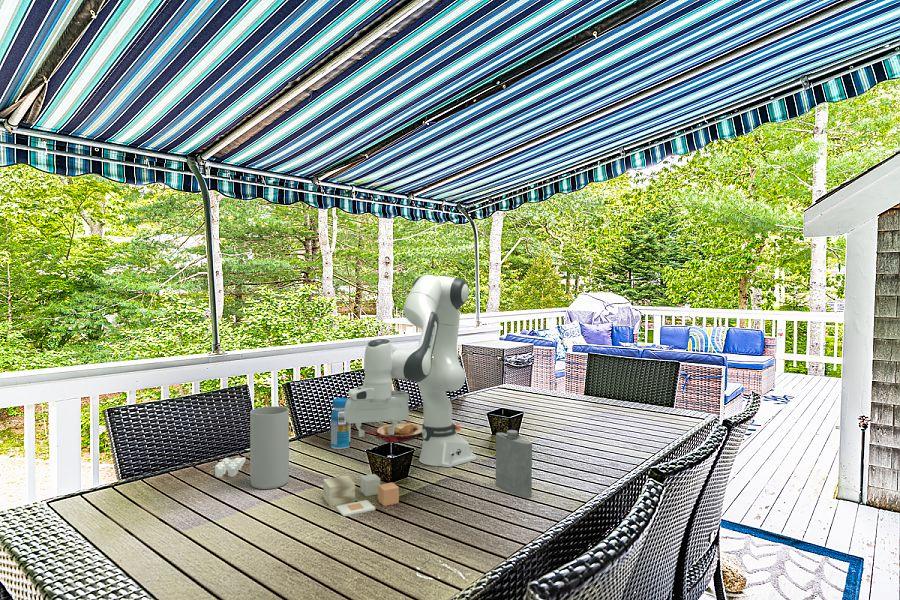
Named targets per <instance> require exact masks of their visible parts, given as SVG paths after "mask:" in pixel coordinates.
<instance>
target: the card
mask: <svg viewBox="0 0 900 600" xmlns="http://www.w3.org/2000/svg"><path fill="white" fill-rule="evenodd" d="M335 510H337V511H338V512H339V513H340V515H342V517H348V516H353V515H358V514H361V513H367V512H372V511H376V506H374V505H373V504H372V503H371V502H370V501H369V500H367V499H364V500H360V501H355V502H352V503H346V504H341V505H335Z"/></svg>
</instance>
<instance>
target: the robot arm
mask: <svg viewBox="0 0 900 600" xmlns="http://www.w3.org/2000/svg"><path fill="white" fill-rule="evenodd" d="M469 294H470V287H469V284H468V282H467V281H466V279H463V278H459V277H451V276H445V275H440V276H439V275H432V274H423V275H422V276H421V275H420V276H418V277H417V278H415V280H413V284H412V286H411V289H410V292H409V293H408V295H407V297H406V299H405V301H404V303H403V314H404V316H405V318H406V320H407V321H408V322H409V323H410V324H412V325H413V326H415V327H417V328H419V329H421V334H420V336H419V337H420V338H419V341H418V345H417V346H416V348H413V349H402V348H397V347H395V346H394V345H392V342H391V341H390V340H389V339H384V338H378V339H373V340H370V341H369V342H367V344H366V345H365V350H364V359H363V370H364V378H363V384H362V385H360V386H358V387H354V388H352V389H349V390H348V400H347V402H346V405H345V411H344V420H345V421H346V422H347V423H348V424H351V425H352V424H355V425H354V426H355V427H356V428H357V430H358V437H359V438H365V437H366V435H365V433H366V431H365V430H363V429H362V428H361V427H362V423H377V422H378V423H379V422H391V423H392V426H391V428H388V434H389V435H394V429H395V428H396V426H397V424H399V421H407V420H408V418H409V416H410V413H409V412H410V411H409V402H410V394H409V393H408V392H407V391H405V390H402V389H401V390H393V385H392V384H393V380H392V379H396V380H398V379H399V380H406V381H410V382H415V383H416V384H417V386H418V389H419V391H420V395H421V400H422V407H423V409H422V410H423V423H422V433H421V436H422V443H421V444H422V446H421V452H420V455H419V459H418V461H419V462H420V463H422V464H424V465H426V466H427V465H428V466H432V467H444V468H451V467H455V466H459V465H463V464H465V463H466V464H467V463H469V462H472V461H476V460H477V456H476V454H475V453H473V452H472V450H471V446H470V444H469V442H468V440H466V439H465V438H463V436H461V435H460V434H458V433H457V432H456V431H459V432H460V431H461V429H462V427H461V425H459V424H454V423H453V404H452V402H451V400H450V399H449V398H448V396H447V393H446V392H455V391H459V390H460V389H461V388H462V387H463V386H464V384H465V382H466V372H465V370H464V368H463V367H462V365H461V363H460V360H459V355H458V354H459V353H458V336H459V328H460V317H461V316H460V313H461V312H460V309H461V307H463V306H464V305H465V304H466V302H467V301H468V299H469Z"/></svg>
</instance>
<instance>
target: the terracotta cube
mask: <svg viewBox="0 0 900 600" xmlns="http://www.w3.org/2000/svg"><path fill="white" fill-rule="evenodd" d="M377 501H378V503H380V504H381V505H382V506H383V507H385V506H390V505H391V506H392V505H396V504H399V503H400V502H399V501H400V487H399V486H398V485H396V484H395V483H394V482H391V481H390V482H386V483H383V484H382V483H380V485H378V494H377Z"/></svg>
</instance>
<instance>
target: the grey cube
mask: <svg viewBox="0 0 900 600" xmlns="http://www.w3.org/2000/svg"><path fill="white" fill-rule="evenodd" d="M359 483H360V489H359V490H360V493H362V494H363V496H365V497H368V496H369V497H370V496H374V495H378V485H381V477H379V476H378V475H377V474H376V473H372V474H371V473H370V474H368V475H366V474H365V475H361V476H360V482H359Z"/></svg>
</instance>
